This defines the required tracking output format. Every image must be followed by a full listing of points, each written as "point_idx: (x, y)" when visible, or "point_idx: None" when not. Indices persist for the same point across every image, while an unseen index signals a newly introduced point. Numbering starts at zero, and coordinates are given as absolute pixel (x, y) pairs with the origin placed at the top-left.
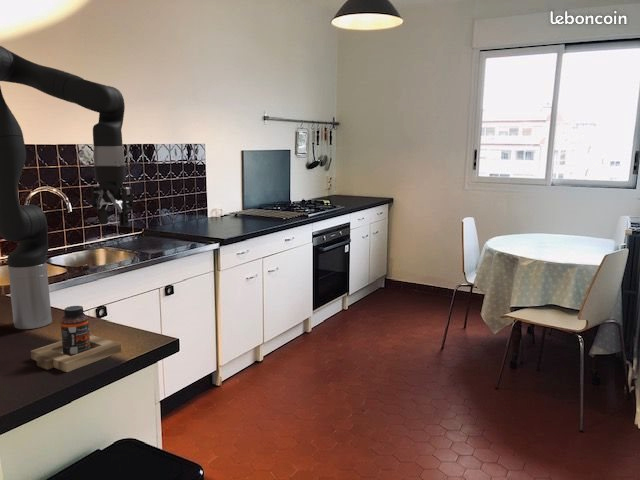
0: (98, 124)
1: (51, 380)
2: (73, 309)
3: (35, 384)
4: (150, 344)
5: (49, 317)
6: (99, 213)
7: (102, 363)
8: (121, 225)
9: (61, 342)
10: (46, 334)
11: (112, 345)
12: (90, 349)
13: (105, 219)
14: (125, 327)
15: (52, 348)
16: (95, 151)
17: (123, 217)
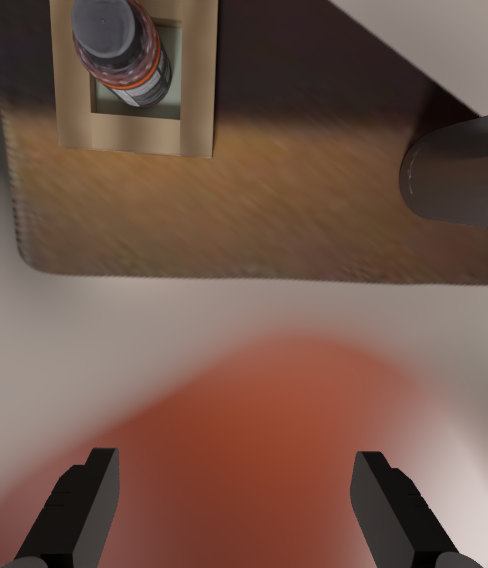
0: None
1: None
2: (82, 4)
3: None
4: (50, 219)
5: (411, 198)
6: (410, 524)
7: (37, 68)
8: (91, 452)
9: (203, 73)
10: (342, 140)
11: (64, 125)
12: (88, 74)
13: (364, 512)
14: (207, 274)
15: (182, 26)
16: None
17: (38, 521)
